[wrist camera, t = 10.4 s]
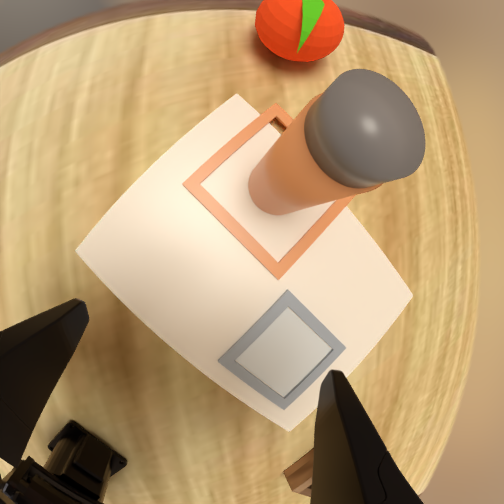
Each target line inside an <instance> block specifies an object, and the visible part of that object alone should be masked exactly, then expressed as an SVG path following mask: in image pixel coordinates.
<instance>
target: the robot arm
mask: <svg viewBox="0 0 504 504" xmlns="http://www.w3.org/2000/svg"><path fill="white" fill-rule="evenodd" d="M88 322H89V315H88V311H87V307H86V304H85V302H84V301H82V300H80V299H77V298H75V299H72V300H70V301H68V302H65V303H63V304H61V305H58V306H56V307H54V308H52V309H49V310H47V311H45V312H42V313H40V314H38V315H36V316H33V317H31V318H29V319H27V320H24V321H22V322H20V323H18V324H16V325H13V326H11V327H9V328H7V329H5V330H3V331H0V458H2V459H3V460H5V461H6V462H7V463H9V464H10V465H12V466H14V468H13V469H12V471H11V472H10V473H9V474H7V475H6V476H5V477H4V478H3V479H1V475H0V504H104V503H103V500H104V496H105V492H106V489H107V485H108V481H109V478H110V477H111V476H112V475H114V474H115V473H117V472H118V471H119V470H121V469H122V468H124V467H125V466H126V465H127V460H126V459H125V458H124V457H122V456H120V455H119V454H117V453H116V452H114V451H113V450H111V449H110V448H109V447H107V446H106V445H104V444H103V443H101V442H100V441H99V440H97V439H96V438H95V437H93V436H92V435H91V434H89V433H88V432H87V431H86V430H84V429H83V428H82V427H80V426H79V425H78V424H77V423H76V422H74V421H72V420H70V421H69V422H68V423H67V424H66V425H65V426H64V427H63V428H62V429H61V431H60V432H59V433H58V434H57V435H56V436H55V437H54V439H53V440H52V441H51V442H50V443H49V445H48V448H49V450H51V451H52V453H51V455H50V456H49V458H48V460H47V462H46V464H45V465H44V467H42V466H40V465H39V464H38V463H36V462H35V461H34V459H32V458H31V457H30V456H28V458H27V459H26V460H21V458H22V455H23V453H24V450H25V448H26V446H27V443H28V441H29V439H30V437H31V434H32V431H33V430H34V427H35V425H36V423H37V421H38V419H39V417H40V415H41V413H42V411H43V409H44V407H45V405H46V403H47V401H48V399H49V397H50V395H51V393H52V391H53V389H54V388H55V386H56V384H57V382H58V380H59V378H60V377H61V375H62V373H63V371H64V369H65V368H66V366H67V364H68V362H69V361H70V359H71V357H72V355H73V354H74V352H75V350H76V347H77V345H78V343H79V341H80V339H81V337H82V335H83V333H84V331H85V328H86V326H87V324H88ZM73 426H74V427H73ZM121 461H122V462H121ZM310 504H423V502H422V501H421V499H420V498H419V497H418V495H417V494H416V493H415V491H414V490H413V489H412V487H411V486H410V484H409V483H408V482H407V480H406V479H405V477H404V476H403V474H402V473H401V472H400V470H399V469H398V467H397V465H396V463H395V462H394V460H393V458H392V457H391V455H390V453H389V451H387V448H386V446H385V444H384V443H383V441H382V439H381V437H380V436H379V434H378V432H377V430H376V429H375V427H374V425H373V423H372V421H371V420H370V418H369V416H368V415H367V413H366V411H365V409H364V408H363V406H362V404H361V402H360V401H359V399H358V397H357V395H356V394H355V392H354V390H353V389H352V387H351V385H350V383H349V382H348V380H347V378H346V377H345V375H344V373H343V372H342V371H340V370H334V369H331V370H330V371H329V372H328V373H327V375H326V377H325V378H324V380H323V381H322V383H321V386H320V392H319V400H318V407H317V414H316V421H315V432H314V457H313V475H312V489H311V501H310Z"/></svg>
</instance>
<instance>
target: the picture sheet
mask: <svg viewBox="0 0 504 504" xmlns="http://www.w3.org/2000/svg"><path fill="white" fill-rule="evenodd" d="M274 118H276V119H277V120H278V121H279V122H280V123H282V124H283V125H284V126H285V127H286V128H287V127H288V126H289V125H290V124H291V123H292V121H293V119H292V118H291V117H290V116H289V115H288V114H287V113H286V112H285V111H284V110H283V109H282V108H281V107H280V106H279V105H278V104H277V103H275V104H274V105H273V106H271V107H270V108H269V109H267V110H266V111H265V112H264V113H262V114H261V115H260V114H259V113H258V112H257V111H256V110H255V109H254V108H253V107H251V106H250V105H249V104H248V103H247V102H246V101H245V100H244V99H243V98H242V97H240V96H239V95H238V94H235V95H234V96H233V97H231V98H230V99H229V100H227V101H226V102H225V103H223V104H222V105H221V106H220V107H218V108H217V109H216V110H214V111H213V112H212V113H211V114H209V115H208V116H207V117H206V118H204V119H203V120H202V121H201V122H200V123H198V124H197V125H196V126H195V127H194V128H192V129H191V130H190V131H189V132H188V133H187V134H185V135H184V136H183V137H182V138H181V139H180V140H179V141H177V142H176V143H175V144H174V145H173V146H172V147H171V148H170V149H169V150H167V151H166V152H165V153H164V154H163V155H162V156H161V157H160V158H159V159H158V160H157V161H156V162H155V163H154V164H153V165H151V166H150V167H149V168H148V169H147V170H146V171H145V172H144V173H143V174H142V175H141V176H140V177H139V178H138V179H137V180H136V181H135V182H134V183H133V184H132V186H131V187H130V188H129V189H128V190H127V191H126V192H125V193H124V194H123V195H122V196H121V197H120V198H119V199H118V200H117V201H116V203H115V204H114V205H113V206H112V207H111V208H110V209H109V210H108V211H107V213H106V214H105V215H104V216H103V217H102V218H101V219H100V221H99V222H98V223H97V224H96V225H95V227H94V228H93V229H92V230H91V231H90V233H89V234H88V235H87V236H86V237H85V239H84V240H83V241H82V242H81V244H80V245H79V246H78V247H77V249H76V250H75V252H76V253H77V254H78V255H79V256H80V258H81V259H82V260H83V261H84V262H85V263H86V264H87V266H88V267H89V268H90V269H91V270H92V271H93V272H94V273H95V274H96V275H97V277H98V278H99V279H100V280H101V281H102V282H103V283H104V284H105V285H106V286H107V287H108V288H109V289H110V290H111V291H112V292H113V293H114V294H115V295H116V296H117V298H118V299H119V300H120V301H121V302H122V303H123V304H125V305H126V306H127V307H128V308H129V309H130V310H131V311H132V312H133V313H134V314H135V315H136V316H137V317H138V318H139V319H140V320H141V321H142V322H143V323H144V324H145V325H147V326H148V327H149V328H150V329H151V330H152V331H153V332H154V333H155V334H156V335H158V336H159V337H160V338H161V339H162V340H163V341H164V342H166V343H167V344H168V345H169V346H170V347H171V348H173V349H174V350H175V351H176V352H177V353H179V354H180V355H181V356H182V357H183V358H185V359H186V360H187V361H188V362H189V363H191V364H192V365H193V366H194V367H196V368H197V369H198V370H200V371H201V372H202V373H203V374H205V375H206V376H207V377H209V378H210V379H211V380H213V381H214V382H215V383H217V384H218V385H219V386H221V387H222V388H223V389H225V390H226V391H228V392H229V393H230V394H232V395H233V396H235V397H236V398H237V399H239V400H240V401H242V402H243V403H245V404H246V405H248V406H249V407H251V408H252V409H254V410H255V411H257V412H258V413H260V414H261V415H263V416H264V417H266V418H267V419H269V420H271V421H272V422H274V423H275V424H277V425H279V426H280V427H282V428H284V429H285V430H287V431H289V432H290V431H291V430H292V429H293V428H295V427H296V426H297V425H298V424H299V423H300V422H301V421H302V420H304V419H305V418H306V417H307V416H308V415H309V414H310V413H311V412H312V411H313V410H315V409H316V408H317V407H318V400H319V392H320V386H321V383H322V381H323V380H324V378H325V377H326V375H327V373H328V372H329V371H330V370H331V369H334V370H340V371H342V372H343V373H344V375H345V377H346V378H347V377H348V376H349V374H350V373H351V372H352V371H353V370H354V369H355V368H356V367H357V366H358V365H359V364H360V362H361V361H362V360H363V359H364V358H365V357H366V356H367V354H368V353H369V352H370V351H371V350H372V349H373V347H374V346H375V345H376V344H377V343H378V341H379V340H380V339H381V338H382V336H383V335H384V334H385V333H386V331H387V330H388V329H389V328H390V326H391V325H392V324H393V322H394V321H395V320H396V319H397V317H398V316H399V315H400V313H401V312H402V311H403V309H404V308H405V306H406V305H407V304H408V302H409V301H410V299H411V298H412V297H413V294H412V293H411V291H410V290H409V288H408V287H407V285H406V284H405V282H404V281H403V280H402V278H401V277H400V275H399V274H398V272H397V271H396V270H395V268H394V267H393V265H392V264H391V263H390V261H389V260H388V258H387V257H386V256H385V254H384V253H383V252H382V250H381V249H380V248H379V246H378V245H377V244H376V242H375V241H374V240H373V239H372V237H371V236H370V235H369V233H368V232H367V231H366V230H365V228H364V227H363V226H362V225H361V223H360V222H359V221H358V220H357V218H356V217H355V216H354V215H353V213H352V212H351V211H350V210H349V209H348V207H347V204H348V203H349V202H350V201H351V200H352V199H353V198H354V196H355V195H354V196H350V197H346V198H342V199H339V200H335V201H331V202H328V203H324V204H320V205H317V206H313V207H309V208H306V209H302V210H299V211H295V212H291V213H288V214H284V215H272V214H268V213H266V212H264V211H262V210H261V209H260V208H258V207H257V206H256V205H255V203H254V202H253V200H252V199H251V196H250V193H249V189H248V182H249V177H250V174H251V172H252V170H253V169H254V168H255V167H256V165H257V164H258V163H259V162H260V160H261V159H262V158H263V157H264V155H265V154H266V153H267V152H268V150H269V149H270V148H271V147H272V145H273V144H274V143H275V142H276V141H277V139H278V138H279V137H280V136H281V134H280V133H279V132H278V131H277V130H276V129H275V128H274V127H273V126H272V125H271V124H270V123H269V122H271V121H272V120H273V119H274Z"/></svg>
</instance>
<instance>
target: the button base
mask: <svg viewBox="0 0 504 504" xmlns="http://www.w3.org/2000/svg"><path fill="white" fill-rule="evenodd" d="M313 457H314V448H313V449H312V450H311V451H309V452H308V453H307V454H306V455H304V456H303V457H302V458H301V459H299V460H298V461H297V462H296V463H294V464H293V465H292V466H290V467H289V468H288V469H286V470H285V471H283V472H284V474H285V476H286V479H287V481H288V483H289V485H290V488H291V490H292V491H293V492H296V493H299V494H302V495H305V496H309V497H311V489H312V475H313Z"/></svg>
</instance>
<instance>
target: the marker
mask: <svg viewBox="0 0 504 504" xmlns="http://www.w3.org/2000/svg"><path fill="white" fill-rule="evenodd" d="M424 152H425V134H424V129H423V125H422V122H421V119H420V116H419V114H418V112H417V110H416V108H415V107H414V105H413V103H412V102H411V100H410V99H409V98H408V96H407V95H406V94H405V93H404V92H403V91H402V90H401V89H400V88H399V87H398V86H397V85H396V84H395V83H394V82H392V81H391V80H389V79H388V78H386V77H385V76H383V75H381V74H379V73H376V72H373V71H370V70H365V69H353V70H349V71H346V72H344V73H342V74H341V75H340V76H339V77H338V78H337V79H336V80H335V81H334V82H333V83H332V84H331V85H330V86H329V87H328V88H327V89H326V90H325V91H324V93H322V94H319V95H317V96H315V97H314V98H313V99H312V100H310V102H309V103H308V104H307V105H306V106H305V107H304V108H303V110H302V111H301V112H300V113H299V114H298V115H297V117H296V118H295V119H294V120H293V121H292V123H291V124H290V125H289V126H288V127H287V129H286V130H285V131H284V132H283V133H282V135H281V136H280V137H279V138H278V139H277V141H276V142H275V143H274V144H273V145H272V147H271V148H270V149H269V150H268V152H267V153H266V154H265V155H264V157H263V158H262V159H261V160H260V162H259V163H258V164H257V165H256V167H255V168H254V169H253V170H252V172H251V174H250V177H249V182H248V189H249V193H250V196H251V199H252V200H253V202H254V203H255V205H256V206H257V207H258V208H260V209H261V210H262V211H264V212H266V213H268V214H272V215H284V214H288V213H291V212H295V211H299V210H302V209H306V208H309V207H313V206H317V205H320V204H324V203H328V202H331V201H335V200H339V199H342V198H346V197H350V196H354V195H357V194H361V193H365V192H369V191H372V190H374V189H376V188H378V187H379V186H381V185H382V184H383V183H386V182H389V181H393V180H397V179H400V178H404V177H407V176H409V175H411V174H412V173H414V172H415V171H416V170H417V169H418V167H419V166H420V164H421V162H422V160H423V157H424Z"/></svg>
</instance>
